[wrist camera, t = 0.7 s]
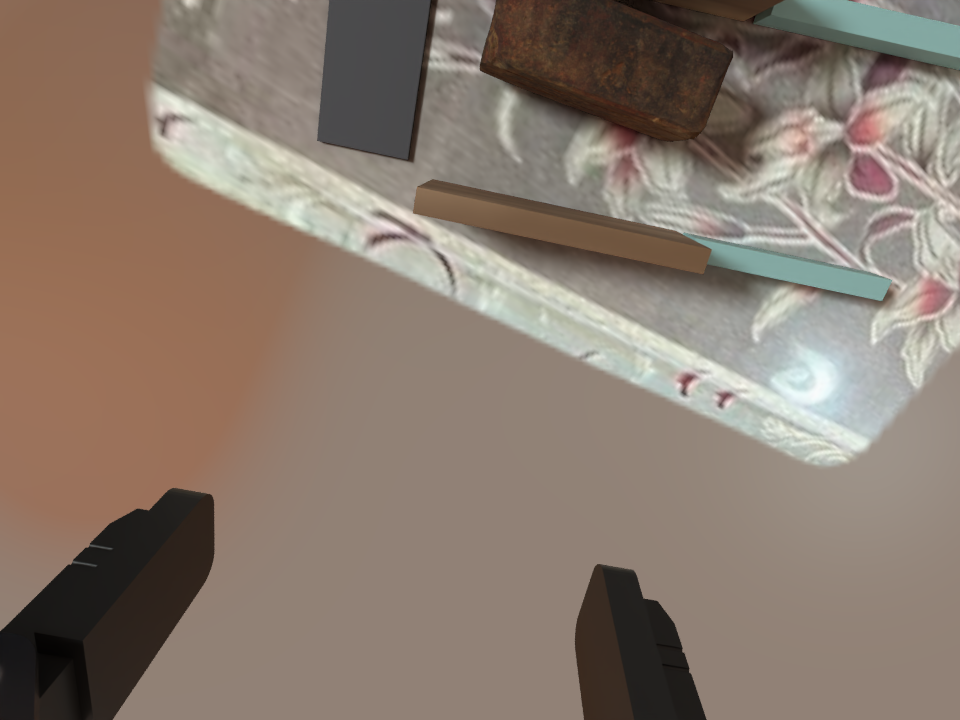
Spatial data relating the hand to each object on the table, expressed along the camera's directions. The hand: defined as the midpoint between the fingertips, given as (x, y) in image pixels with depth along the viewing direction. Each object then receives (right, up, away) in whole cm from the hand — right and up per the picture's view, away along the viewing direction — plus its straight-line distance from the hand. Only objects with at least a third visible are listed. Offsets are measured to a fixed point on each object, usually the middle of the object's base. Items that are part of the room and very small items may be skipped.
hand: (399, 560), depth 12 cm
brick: (+5, +18, +18) cm, 26 cm away
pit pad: (-4, +20, +17) cm, 27 cm away
